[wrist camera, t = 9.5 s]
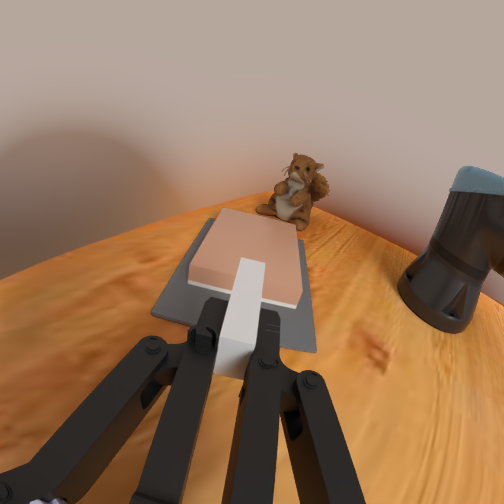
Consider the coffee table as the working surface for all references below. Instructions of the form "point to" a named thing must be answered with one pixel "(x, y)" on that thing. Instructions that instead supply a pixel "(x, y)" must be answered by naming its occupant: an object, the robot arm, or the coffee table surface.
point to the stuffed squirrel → (297, 192)
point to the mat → (193, 298)
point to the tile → (250, 256)
